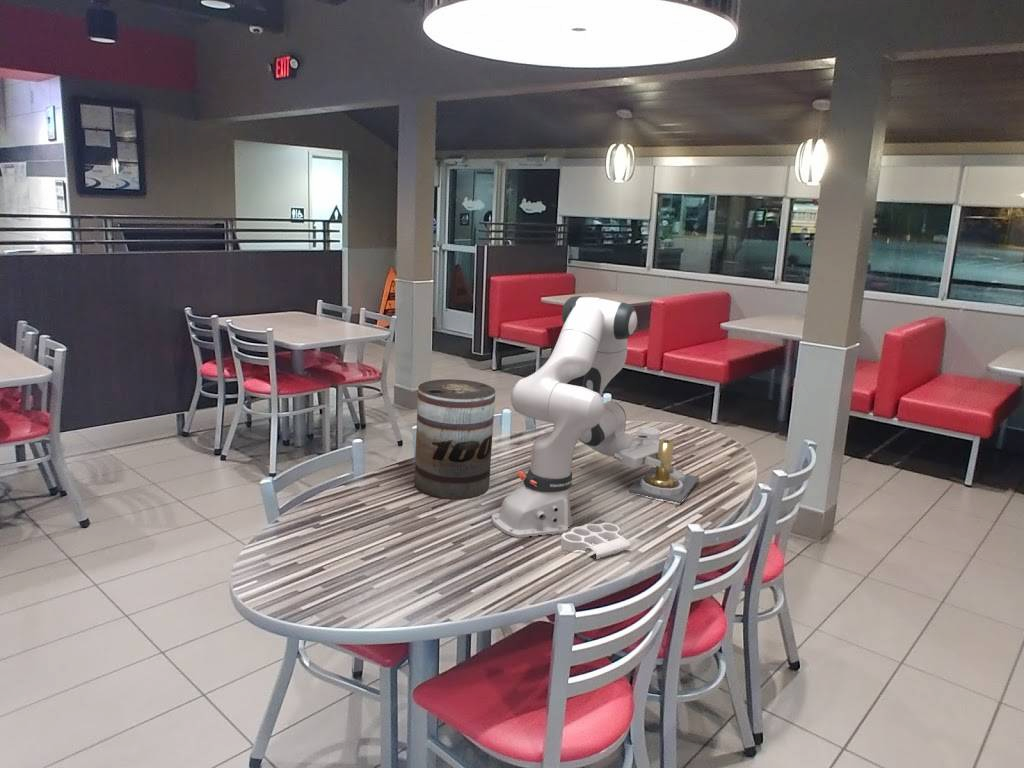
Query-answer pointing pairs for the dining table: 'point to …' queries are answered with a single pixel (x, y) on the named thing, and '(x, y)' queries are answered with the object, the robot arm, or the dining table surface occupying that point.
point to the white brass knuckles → (595, 539)
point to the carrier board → (670, 498)
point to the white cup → (649, 432)
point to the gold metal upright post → (663, 466)
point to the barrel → (454, 438)
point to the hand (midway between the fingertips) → (666, 461)
